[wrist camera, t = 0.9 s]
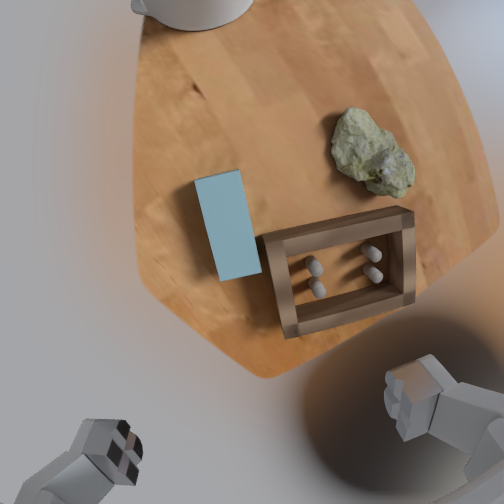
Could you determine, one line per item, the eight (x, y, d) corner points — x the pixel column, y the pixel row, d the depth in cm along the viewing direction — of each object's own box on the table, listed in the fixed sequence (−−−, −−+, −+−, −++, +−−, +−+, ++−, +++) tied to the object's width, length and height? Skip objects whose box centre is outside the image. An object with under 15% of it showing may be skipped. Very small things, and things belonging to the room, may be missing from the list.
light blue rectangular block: (198, 178, 35) (194, 180, 32) (238, 168, 35) (239, 170, 32) (221, 269, 39) (220, 281, 35) (259, 261, 39) (261, 272, 35)
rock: (333, 108, 34) (320, 180, 36) (353, 92, 28) (340, 176, 30) (401, 134, 36) (391, 202, 37) (427, 125, 30) (418, 202, 31)
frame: (261, 234, 38) (265, 244, 33) (396, 205, 37) (413, 211, 33) (280, 321, 42) (284, 339, 37) (400, 289, 41) (415, 302, 37)
